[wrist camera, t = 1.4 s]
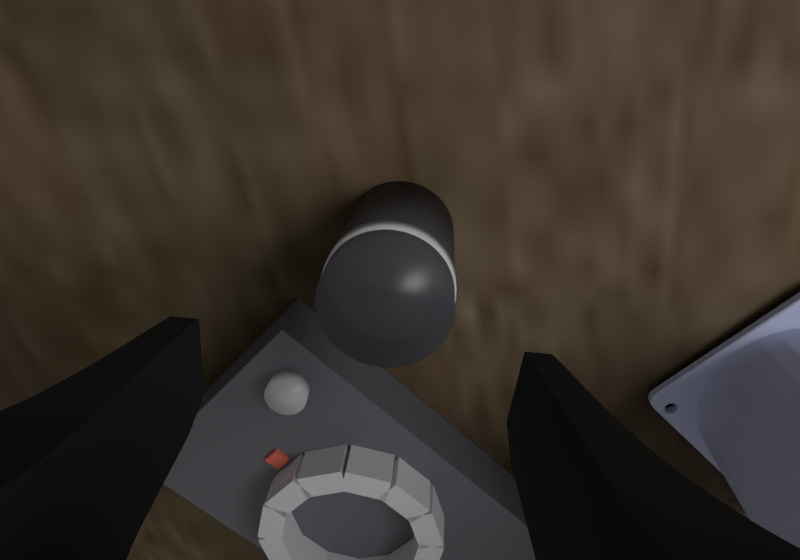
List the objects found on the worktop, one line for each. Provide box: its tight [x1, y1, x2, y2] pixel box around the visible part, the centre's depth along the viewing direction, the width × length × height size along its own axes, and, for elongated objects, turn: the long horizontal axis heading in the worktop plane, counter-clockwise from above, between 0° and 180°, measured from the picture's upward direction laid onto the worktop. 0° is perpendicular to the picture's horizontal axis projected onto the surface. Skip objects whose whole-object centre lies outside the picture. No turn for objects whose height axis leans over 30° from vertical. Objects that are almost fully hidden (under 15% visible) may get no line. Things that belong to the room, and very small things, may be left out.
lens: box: [315, 181, 456, 367], centre depth 19 cm, size 4×4×6 cm
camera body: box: [163, 298, 536, 560], centre depth 25 cm, size 16×10×4 cm, turn 47°
